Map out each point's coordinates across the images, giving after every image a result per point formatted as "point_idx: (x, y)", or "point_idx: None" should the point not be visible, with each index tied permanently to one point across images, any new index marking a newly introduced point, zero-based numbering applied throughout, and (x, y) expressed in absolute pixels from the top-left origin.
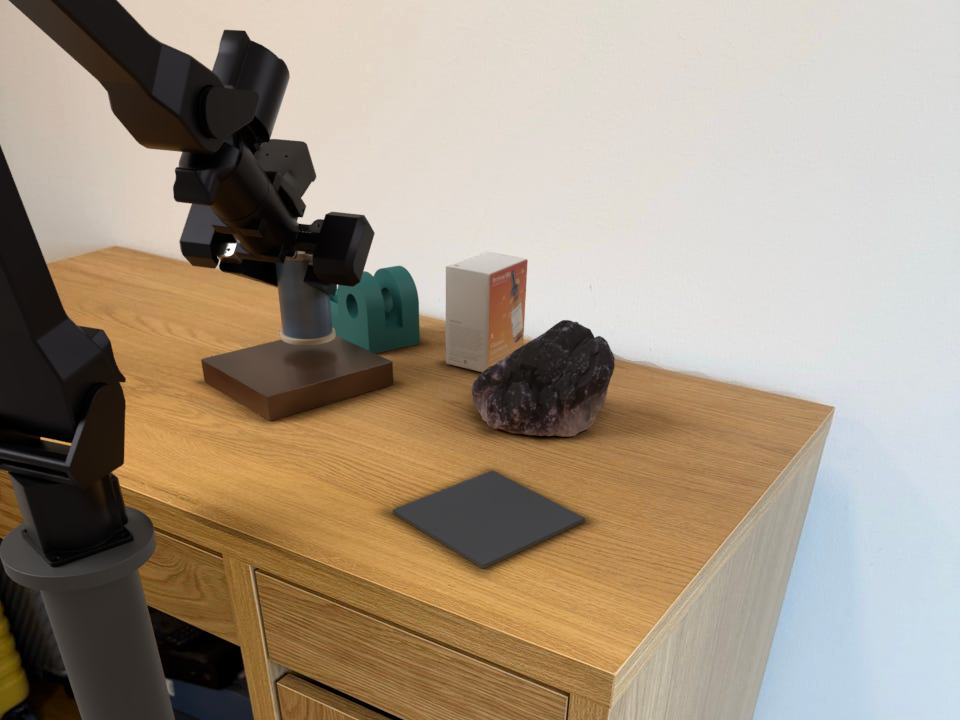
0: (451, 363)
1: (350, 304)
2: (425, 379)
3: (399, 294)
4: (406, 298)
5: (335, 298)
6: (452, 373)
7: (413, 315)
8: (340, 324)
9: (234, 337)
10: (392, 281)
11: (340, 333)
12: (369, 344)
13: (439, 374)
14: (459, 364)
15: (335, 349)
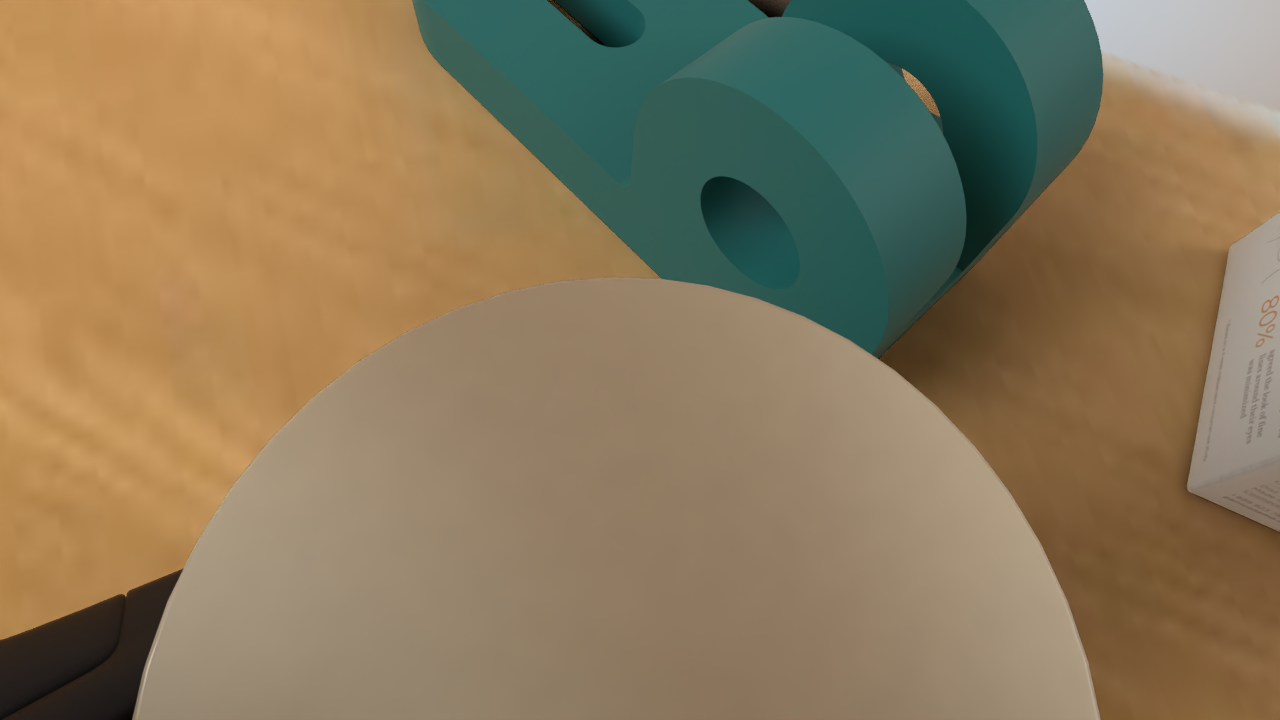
0: (1220, 502)
1: (717, 184)
2: (1171, 698)
3: (1027, 166)
4: (1048, 172)
5: None
6: (1251, 593)
7: (1024, 209)
8: (634, 214)
9: (131, 297)
10: (995, 82)
11: (628, 235)
12: None
13: (1203, 617)
14: (1270, 524)
15: None
